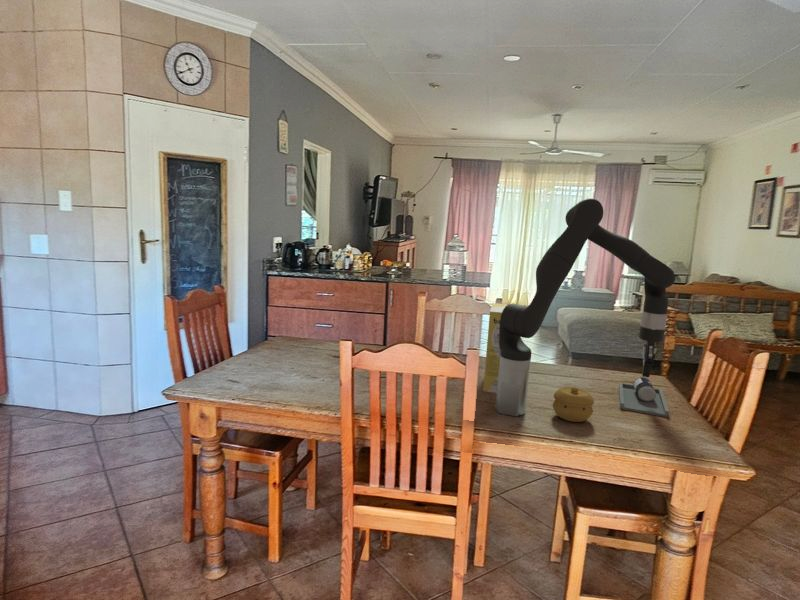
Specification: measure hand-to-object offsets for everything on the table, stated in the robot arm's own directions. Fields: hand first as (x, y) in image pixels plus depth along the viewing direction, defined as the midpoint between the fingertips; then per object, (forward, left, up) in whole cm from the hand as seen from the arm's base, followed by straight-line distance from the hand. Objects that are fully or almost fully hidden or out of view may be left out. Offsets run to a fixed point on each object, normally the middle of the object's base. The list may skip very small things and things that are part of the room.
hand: (645, 376), depth 169 cm
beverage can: (-1, -1, -6) cm, 6 cm away
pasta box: (-7, +47, -10) cm, 48 cm away
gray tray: (+2, 0, -10) cm, 10 cm away
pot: (-27, +21, -10) cm, 36 cm away
